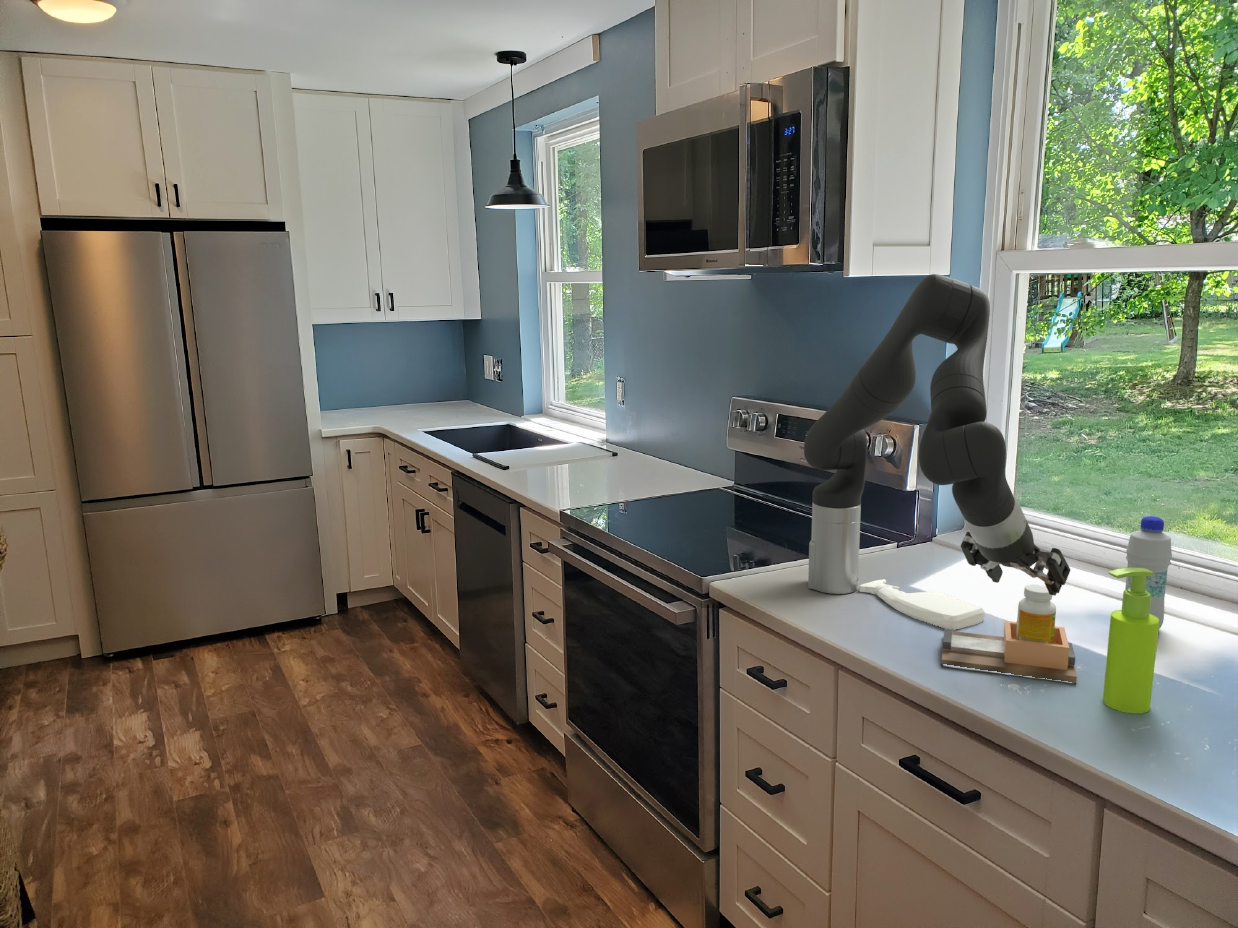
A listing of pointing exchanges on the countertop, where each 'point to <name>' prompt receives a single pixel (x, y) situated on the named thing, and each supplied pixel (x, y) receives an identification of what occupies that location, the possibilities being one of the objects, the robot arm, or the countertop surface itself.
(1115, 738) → the countertop surface
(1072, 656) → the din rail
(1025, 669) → the rail board
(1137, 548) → the bottle
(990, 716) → the countertop surface
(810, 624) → the countertop surface
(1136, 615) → the soap dispenser
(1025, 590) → the supplement bottle
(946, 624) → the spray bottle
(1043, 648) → the orange open box
